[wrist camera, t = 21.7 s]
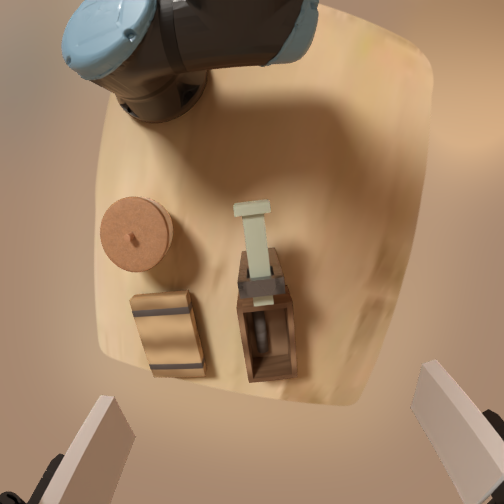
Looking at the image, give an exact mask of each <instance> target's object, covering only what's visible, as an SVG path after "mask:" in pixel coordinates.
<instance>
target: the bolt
mask: <svg viewBox="0 0 504 504" xmlns="http://www.w3.org/2000/svg"><path fill="white" fill-rule="evenodd" d="M233 209H234V216H235V217H238V216H242V219H243V227H244V235H245V242H246V250H247V257H248V265H249V272H250V278H256V277H265V276H271V273H270V264H269V255H268V246H267V237H266V229H265V220H264V213H271V207H270V201H269V200H268V199H265V200H256V201H248V202H240V203H235V204H234V206H233ZM253 302H254V306H263V305H272V304H274V301H273V295H270V296H261V297H253Z"/></svg>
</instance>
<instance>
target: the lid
mask: <svg viewBox="0 0 504 504" xmlns="http://www.w3.org/2000/svg"><path fill="white" fill-rule="evenodd" d="M129 301H130V305H131V308H132V313H133V316H134V319H135V322H136V325H137V329H138V332H139V335H140V338H141V341H142V344H143V347H144V350H145V353H146V356H147V359H148V362H149V365H150V368H151V370H152V373H153V376H154V377H203V376H205V375H206V370H207V367H206V363H205V358H204V355H203V351H202V347H201V343H200V338H199V334H198V330H197V325H196V321H195V317H194V312H193V307H192V302H191V298H190V293H189V290H183V291H172V292H161V293H150V294H138V295H134V296H133V297H132V298H131V299H130V300H129Z"/></svg>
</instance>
